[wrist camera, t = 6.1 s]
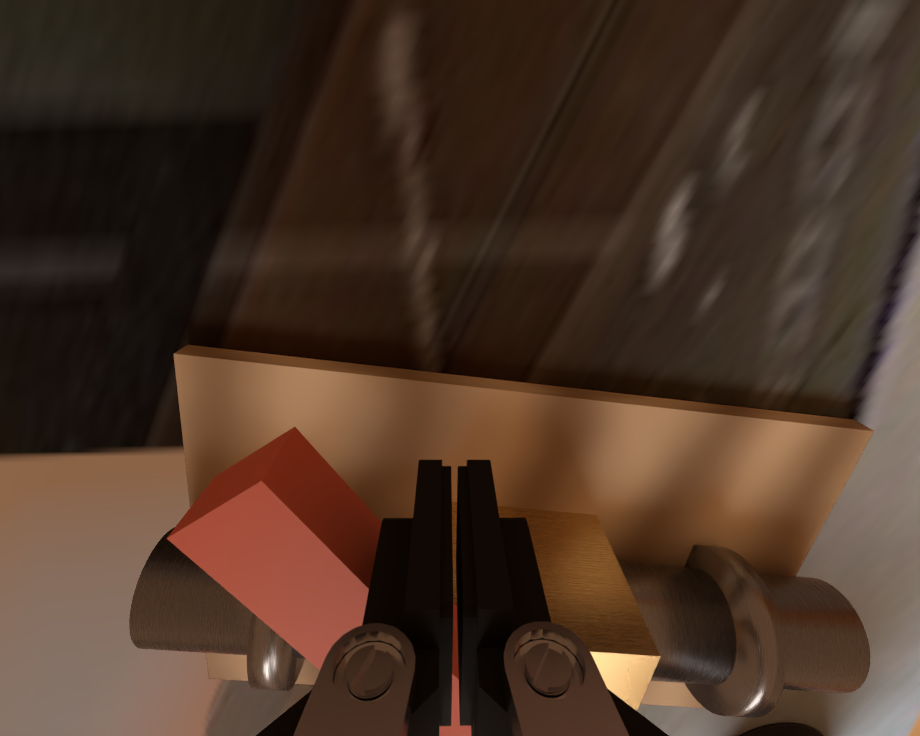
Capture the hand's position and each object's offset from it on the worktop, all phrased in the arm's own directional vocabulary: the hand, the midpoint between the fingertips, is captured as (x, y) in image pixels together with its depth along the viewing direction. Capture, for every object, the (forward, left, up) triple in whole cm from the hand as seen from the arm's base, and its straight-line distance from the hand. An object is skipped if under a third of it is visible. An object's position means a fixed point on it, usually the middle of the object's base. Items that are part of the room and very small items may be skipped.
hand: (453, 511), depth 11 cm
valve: (-9, -4, -8) cm, 13 cm away
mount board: (-9, -4, -8) cm, 13 cm away
